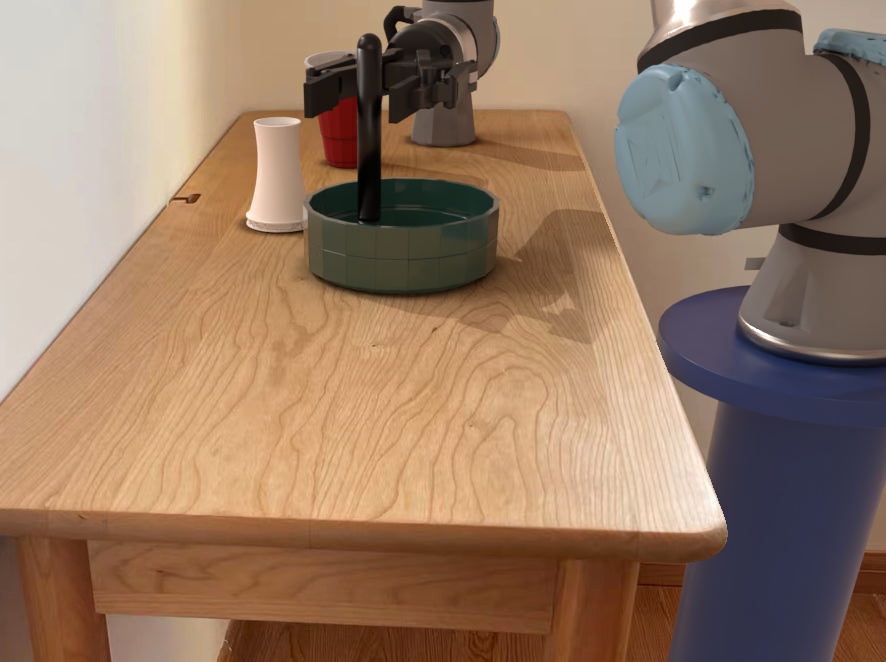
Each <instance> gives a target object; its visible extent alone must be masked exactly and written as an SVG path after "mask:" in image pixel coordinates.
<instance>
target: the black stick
mask: <svg viewBox="0 0 886 662" xmlns="http://www.w3.org/2000/svg"><path fill="white" fill-rule="evenodd" d="M382 43H383V42H382V40H381V38H380V37H379V36H378V35H377V34H375V33H372V32H366V33H364V34H363V35H361V36H360V37H359V38H358V40H357V43H356V50H357V167H356V169H357V170H356V171H357V172H356V173H357V174H356V175H357V177H356V178H357V179H356V180H357V188H358V220H359V222H360V224H366V225H374V226H378V223H379V222H380V219H381V178H382V137H383V136H382V131H383V130H382V129H383V127H382V126H383V125H382V123H383V121H382V120H383V99H382V53H383V44H382Z"/></svg>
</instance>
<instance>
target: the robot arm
mask: <svg viewBox="0 0 886 662" xmlns="http://www.w3.org/2000/svg"><path fill="white" fill-rule="evenodd" d="M421 3H422V4H421V8H422V19H421V20H419V21H418V22H416V23H414V24H409V25H407V26H405V27H402V28H401V29H400V30H398V31H397V33H396V34H395V35H394V37H393V38H392V39H391V41H390V42H389V44H388V43H387V46H386V48H385V50H384V52H382V96H383V97H385V96H388V124H392V125H398V124H400V123H401V122H403V121H404V120H406V119H408V118H409V117H411V116H412V115H414V114H415V112H417V111H419V110H420V109H431V108H434V107H435V105H437V104H439V103H441V102H443V107H444V108H447V109H453V108H455V107H457V105H458V104H459V103H460V102H461V101H462V99H463V98H464V97H465V96H466V95H467V93H470V92H471V93H474V92H476V91H477V90H478V81H480V79H481V78H483V77H484V76H485V75H486V74H487V73H488V71H489V70H490V69H491V67H492V66H493V65H494V63H495V61H496V59H497V57H498V55H499V52H500V47H501V31H500V27H499V24H498V21H497V22H496V19H497V18H496V19H495V17H496V16H495V15H494V10H495V8H494V7H495V0H422V1H421ZM649 3H650V11H651V18H652V26H653V31H652V34H651V36H650V37H649V39H648V41H647V42H646V43H645V45H644V46H643V48H642V49H641V51H640V52H639V53H638V56H637V58H636V70H637V75H636V76H635V77H634V78H633V79H632V80H631V81H630V82H629V84H628V86H627V87H626V89H625V90H624V92H623V93H622V96H621V98H620V101H619V104H618V107H617V111H616V116H617V119H618V120H619V123H618V124H616V125H615V127H614V128H613V129H614V130H613V150H614V151H613V153H614V159H615V166H616V170H617V175H618V178H619V182H620V184H621V187H622V190H623V192H624V194H625V196H626V198H627V200H628V202H629V204H630V205H631V207H632V208H633V210H634V211H635V213H636V214H637V215H638V216H639V217H640V218H641V219H642V220H645V221H646V222H647V223H648V225H649V226H650V227H652V228H653V229H654V230H656V231H658V232H660V233H663V234H666V235H668V236H669V235H670V236H678V237H679V236H680V237H681V236H695V235H696V236H697V235H702V236H704V237H705V236H706V237H718V236H722V235H723V234H726V233H730V232H732V231H737V230H743V229H752V228H761V227H769V226H778V228H777V233H776V237H775V240H774V242H773V244H772V246H771V248H770V249H769V252H768V254H767V255H766V256H765V257H764V256H762V257H746V259H745V265H744V269H743V271H757V273H756V276H755V277H754V279H753V281H752V282H751V284H750V285H751V286H750V288H749V290H748V292H747V294H746V296H745V297H744V299H743V302H742V304H741V307H740V309H739V314H738V319H737V324H736V331H737V333H738V335H739V336H740V338H741V339H742V340H744V341H745V342H746V343H747V344H749V345H750V346H752V347H754V348H756V349H758V350H760V351H762V352H764V353H767V354H770V355H772V356H775V357H778V358H782V359H785V360H789V361H793V362H798V363H803V364H808V365H814V366H821V367H830V368H845V369H867V368H880V367H886V33H880V32H872V31H864V30H857V29H849V28H838V27H837V28H836V27H832V28H831V27H829V28H825V29H823V31H821V32H820V34H819V36H818V38H817V41H816V43H815V44H813V47H812V53H813V54H806V49H805V41H804V29H803V20H802V13H801V10H800V9H799V8H798V7H797V6H795V5H793V4H791V3H790V2H788V1H786V0H649ZM494 16H495V17H494ZM302 86H303V88H302V89H303V113H304V114H303V116H304V117H303V119H315V118H317V117H318V115H320V114H322V113H324V112H326V111H333V108H334V107H336V106H338V105H339V100H343V99H347V98H351V97H356V96H357V57H356V55H354V54H352V53H348V54H347V55H343V56H342V58H340V59H337V60H334V61H330V62H327V63H324V64H321V65H318V66H314V67H310V68H308V69H307V68H305V82H303V85H302Z"/></svg>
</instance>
